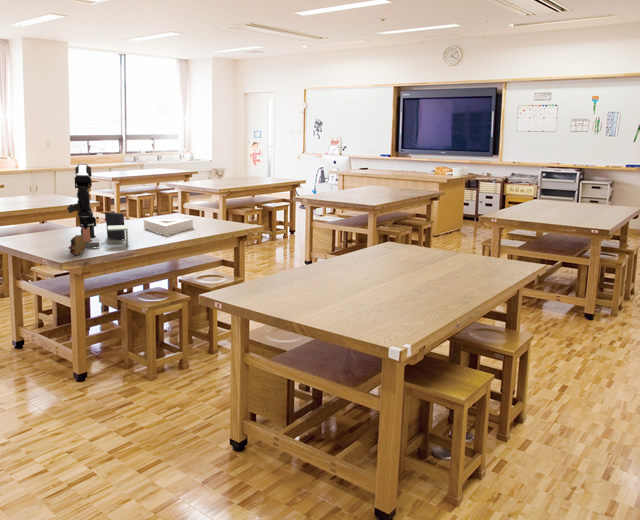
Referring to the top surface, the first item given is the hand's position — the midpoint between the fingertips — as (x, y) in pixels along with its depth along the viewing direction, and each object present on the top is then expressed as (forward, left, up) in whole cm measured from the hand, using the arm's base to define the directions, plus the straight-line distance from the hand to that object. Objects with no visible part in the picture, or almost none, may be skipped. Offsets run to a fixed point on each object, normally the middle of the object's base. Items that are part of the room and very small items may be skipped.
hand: (85, 227), depth 334 cm
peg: (0, 0, -10) cm, 10 cm away
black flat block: (-23, -7, -10) cm, 26 cm away
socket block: (0, 0, -10) cm, 10 cm away
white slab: (-64, -6, -11) cm, 65 cm away
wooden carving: (+15, +15, -11) cm, 23 cm away
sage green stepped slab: (-13, +9, -10) cm, 19 cm away
